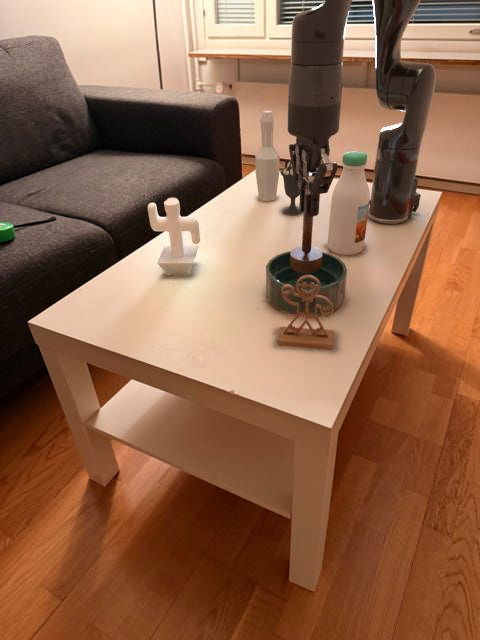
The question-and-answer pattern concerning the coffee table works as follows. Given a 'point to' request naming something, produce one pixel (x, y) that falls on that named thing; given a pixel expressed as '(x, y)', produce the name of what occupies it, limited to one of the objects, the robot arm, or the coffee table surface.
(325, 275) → the bowl
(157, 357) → the coffee table surface
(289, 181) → the sundae
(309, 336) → the gingerbread man figurine
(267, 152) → the low poly bottle
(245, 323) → the coffee table surface
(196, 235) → the figurine
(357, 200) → the milk bottle
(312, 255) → the wooden peg stand
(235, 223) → the coffee table surface
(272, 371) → the coffee table surface
